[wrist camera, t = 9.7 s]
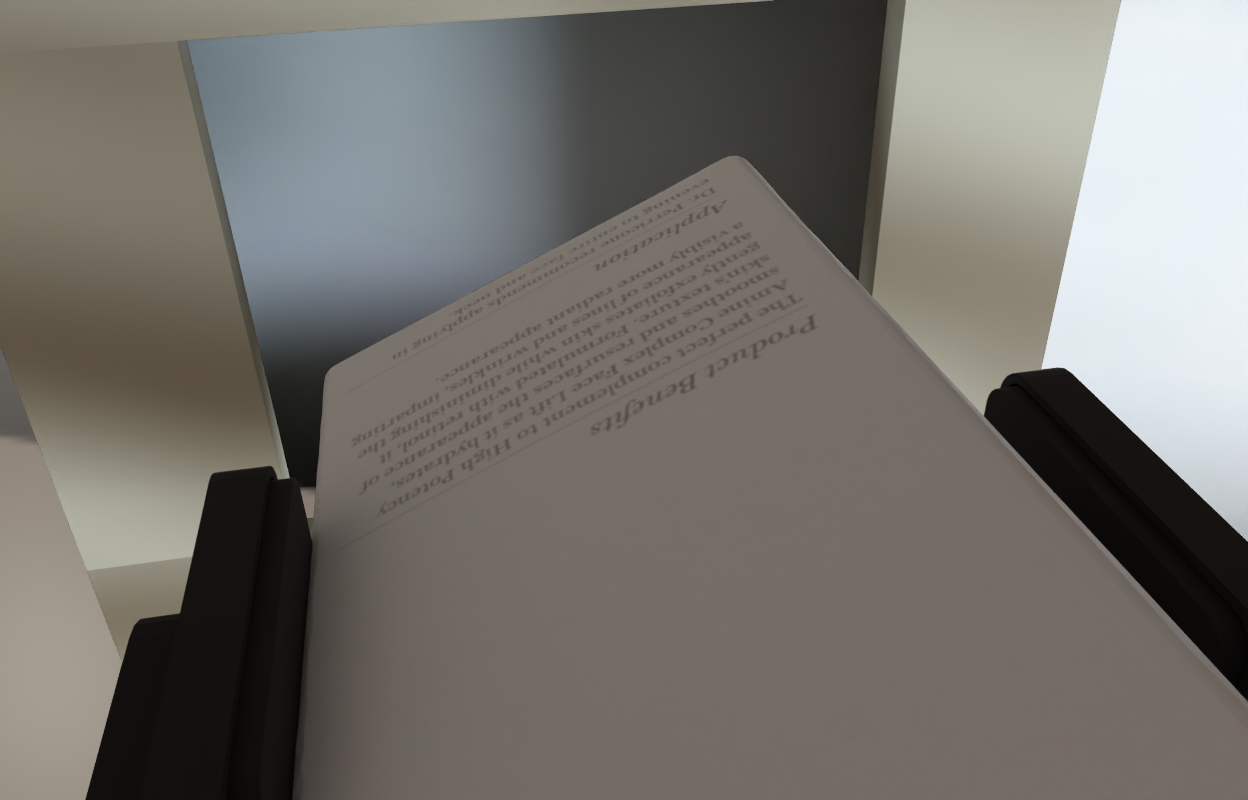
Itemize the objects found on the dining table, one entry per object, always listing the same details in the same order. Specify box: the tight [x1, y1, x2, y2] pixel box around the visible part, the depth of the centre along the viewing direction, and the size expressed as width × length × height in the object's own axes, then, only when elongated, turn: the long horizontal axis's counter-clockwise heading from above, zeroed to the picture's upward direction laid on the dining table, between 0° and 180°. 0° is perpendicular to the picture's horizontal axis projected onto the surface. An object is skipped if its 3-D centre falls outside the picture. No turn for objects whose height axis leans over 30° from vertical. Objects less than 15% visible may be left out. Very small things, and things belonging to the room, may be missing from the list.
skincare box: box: [292, 156, 1248, 800], centre depth 9 cm, size 6×4×12 cm
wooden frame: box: [0, 0, 1121, 662], centre depth 18 cm, size 18×16×5 cm
